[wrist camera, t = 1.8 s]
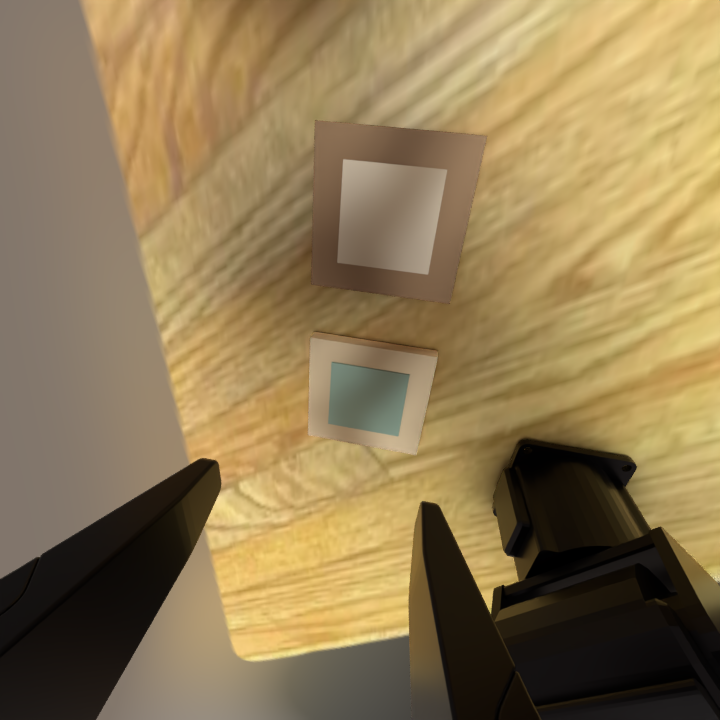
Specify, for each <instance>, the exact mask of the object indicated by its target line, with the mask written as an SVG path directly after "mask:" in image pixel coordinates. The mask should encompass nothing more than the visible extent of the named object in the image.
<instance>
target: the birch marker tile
mask: <svg viewBox="0 0 720 720" xmlns="http://www.w3.org/2000/svg"><path fill="white" fill-rule="evenodd" d="M437 360H438V351H436V350H430V349H423V348H417V347H410V346H404V345H397V344H391V343H384V342H378V341H372V340H365V339H359V338H352V337H346V336H339V335H333V334H326V333H320V332H314V333H313V334H312V336H311V337H310V366H309V411H308V435H310V436H316V437H321V438H326V439H332V440H337V441H343V442H348V443H353V444H359V445H364V446H369V447H375V448H380V449H386V450H391V451H396V452H402V453H407V454H412V455H416V454H417V450H418V445H419V441H420V436H421V432H422V427H423V423H424V418H425V414H426V409H427V405H428V400H429V396H430V391H431V387H432V382H433V378H434V373H435V369H436V364H437Z"/></svg>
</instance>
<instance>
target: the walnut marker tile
mask: <svg viewBox="0 0 720 720" xmlns="http://www.w3.org/2000/svg"><path fill="white" fill-rule="evenodd" d="M486 139H487V136H484V135H473V134H462V133H451V132H440V131H429V130H418V129H407V128H396V127H385V126H374V125H363V124H352V123H341V122H329V121H318V120H315V143H314V188H313V232H312V277H311V284H312V285H319V286H326V287H333V288H340V289H347V290H354V291H361V292H369V293H376V294H383V295H390V296H397V297H404V298H411V299H418V300H426V301H433V302H440V303H447V304H450V301H451V297H452V292H453V288H454V283H455V279H456V274H457V270H458V265H459V261H460V256H461V252H462V247H463V243H464V238H465V234H466V229H467V225H468V220H469V216H470V211H471V207H472V202H473V198H474V193H475V189H476V184H477V180H478V175H479V171H480V166H481V162H482V157H483V153H484V148H485V144H486Z"/></svg>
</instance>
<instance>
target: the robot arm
mask: <svg viewBox="0 0 720 720" xmlns="http://www.w3.org/2000/svg"><path fill="white" fill-rule="evenodd" d="M526 447H529V449H524V448H526ZM625 465H627V466H625ZM623 466H624V467H623ZM636 468H637V466H636V464H635V463H634V461H633V460H632V459H631V458H629V457H625V456H619V455H613V454H607V453H602V452H596V451H590V450H585V449H579V448H573V447H568V446H562V445H556V444H551V443H545V442H539V441H534V440H521V441H520V442H519V443H518V444H517V446H516V449H515V451H514V454H513V456H512V459H511V461H510V464H509V466H508V467H506V468H505V469H504V470H503V472H502V474H501V477H500V480H499V482H498V485H497V487H496V490H495V492H494V495H493V498H494V504H493V507H492V508H493V513H494V515H495V516H496V517H497V519H498V524H499V530H500V535H501V540H502V545H503V550H504V552H505V553H506V555H507V556H511V557H514V561H515V566H516V570H517V575H518V579H519V581H518V582H516V583H513V584H510V585H507V586H504V585H502V586H499V587H496V588H494V591H493V601H492V611H491V614H490V612H489V610H488V608H487V606H486V603H485V601H484V599H483V597H482V595H481V593H480V591H479V589H478V587H477V584H476V582H475V580H474V578H473V576H472V574H471V572H470V570H469V568H468V565H467V563H466V561H465V559H464V557H463V555H462V553H461V551H460V549H459V547H458V544H457V542H456V540H455V538H454V536H453V534H452V532H451V530H450V528H449V525H448V523H447V521H446V519H445V517H444V515H443V513H442V511H441V509H440V507H439V505H437V504H436V503H431V502H426V501H422V502H421V503H420V506H419V510H418V514H417V518H416V522H415V528H414V538H413V550H412V562H411V574H410V586H409V642H410V682H411V720H720V586H719V585H718V583H717V582H716V581H715V580H714V579H713V578H712V577H711V576H710V575H709V574H708V573H707V572H706V571H705V570H704V569H703V568H702V567H701V566H700V565H699V564H698V563H697V562H696V561H695V560H694V559H693V558H692V557H691V556H690V555H689V554H688V553H687V552H686V551H685V550H684V549H683V548H682V547H681V546H680V545H679V544H678V543H677V542H676V541H675V540H674V539H673V538H672V537H671V536H670V535H669V534H668V533H667V532H666V531H665V530H664V529H663V528H662V527H658V528H655V529H653V530H651V528H650V527H649V525H648V524H647V522H646V520H645V519H644V517H643V515H642V514H641V512H640V510H639V509H638V507H637V506H636V504H635V502H634V501H633V499H632V497H631V496H630V494H629V492H628V491H627V489H626V488H625V486H626V485H627V483H628V482H629V480H630V479H631V477H632V475H633V474H634V472H635V471H636ZM220 489H221V477H220V470H219V464H218V462H217V461H216V460H212V459H207V458H201V459H198V460H197V461H195V462H193V463H192V464H190V465H188V466H187V467H185V468H183V469H182V470H180V471H179V472H177V473H175V474H173V475H172V476H170V477H169V478H167V479H165V480H164V481H162V482H160V483H159V484H157V485H155V486H154V487H152V488H151V489H149V490H147V491H145V492H144V493H142V494H141V495H139V496H137V497H135V498H134V499H132V500H131V501H129V502H127V503H126V504H124V505H123V506H121V507H119V508H117V509H116V510H114V511H112V512H111V513H109V514H107V515H106V516H104V517H103V518H101V519H99V520H97V521H96V522H94V523H93V524H91V525H89V526H88V527H86V528H84V529H83V530H81V531H79V532H78V533H76V534H74V535H73V536H71V537H69V538H68V539H66V540H65V541H63V542H61V543H59V544H58V545H56V546H55V547H53V548H51V549H50V550H48V551H46V552H45V553H43V554H42V555H41V557H36V558H34V559H33V560H31V561H29V562H28V563H26V564H25V565H23V566H21V567H20V568H18V569H16V570H15V571H13V572H11V573H9V574H8V575H6V576H4V577H3V578H1V579H0V720H96V719H97V717H98V715H99V713H100V712H101V710H102V708H103V706H104V705H105V703H106V701H107V700H108V698H109V696H110V694H111V692H112V691H113V689H114V687H115V686H116V684H117V682H118V680H119V678H120V677H121V675H122V674H123V672H124V670H125V668H126V667H127V665H128V663H129V661H130V660H131V658H132V656H133V654H134V653H135V651H136V649H137V647H138V646H139V644H140V642H141V641H142V639H143V637H144V635H145V634H146V632H147V630H148V628H149V627H150V625H151V623H152V621H153V620H154V618H155V616H156V614H157V613H158V611H159V609H160V607H161V606H162V604H163V602H164V601H165V599H166V597H167V595H168V593H169V592H170V590H171V588H172V587H173V585H174V583H175V581H176V580H177V578H178V576H179V574H180V573H181V571H182V569H183V568H184V566H185V564H186V562H187V561H188V559H189V557H190V555H191V553H192V551H193V549H194V547H195V545H196V543H197V541H198V539H199V537H200V535H201V532H202V530H203V528H204V526H205V523H206V521H207V519H208V517H209V515H210V512H211V510H212V508H213V506H214V503H215V501H216V499H217V497H218V495H219V492H220Z"/></svg>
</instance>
